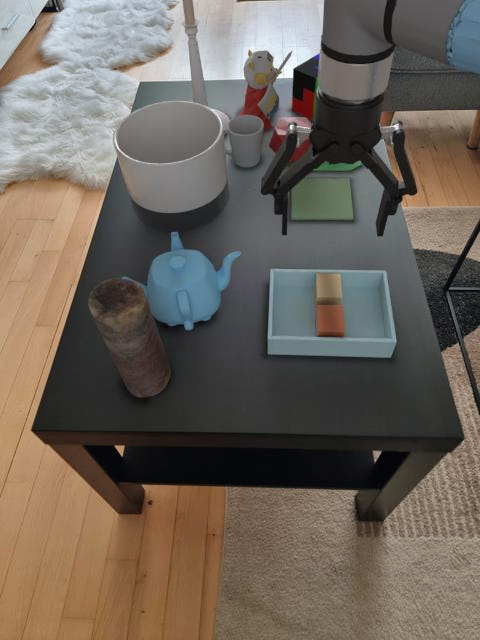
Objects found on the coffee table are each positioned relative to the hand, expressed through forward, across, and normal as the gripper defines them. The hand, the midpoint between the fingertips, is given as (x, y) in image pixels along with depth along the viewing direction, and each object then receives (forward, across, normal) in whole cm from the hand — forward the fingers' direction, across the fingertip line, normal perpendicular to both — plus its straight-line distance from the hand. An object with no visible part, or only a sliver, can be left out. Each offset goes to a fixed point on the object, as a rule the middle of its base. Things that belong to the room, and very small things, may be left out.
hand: (331, 229), depth 70 cm
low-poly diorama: (+16, 0, -40) cm, 43 cm away
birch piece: (+15, -1, +1) cm, 15 cm away
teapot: (+16, +23, +2) cm, 28 cm away
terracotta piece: (+15, -1, +8) cm, 17 cm away
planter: (+16, +27, -22) cm, 39 cm away
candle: (+16, +27, +17) cm, 36 cm away
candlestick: (+16, +26, -51) cm, 60 cm away
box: (+16, -1, +5) cm, 17 cm away
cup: (+16, +16, -38) cm, 45 cm away
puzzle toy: (+16, -2, -58) cm, 61 cm away
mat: (+16, -1, -25) cm, 30 cm away
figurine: (+16, +12, -55) cm, 59 cm away
